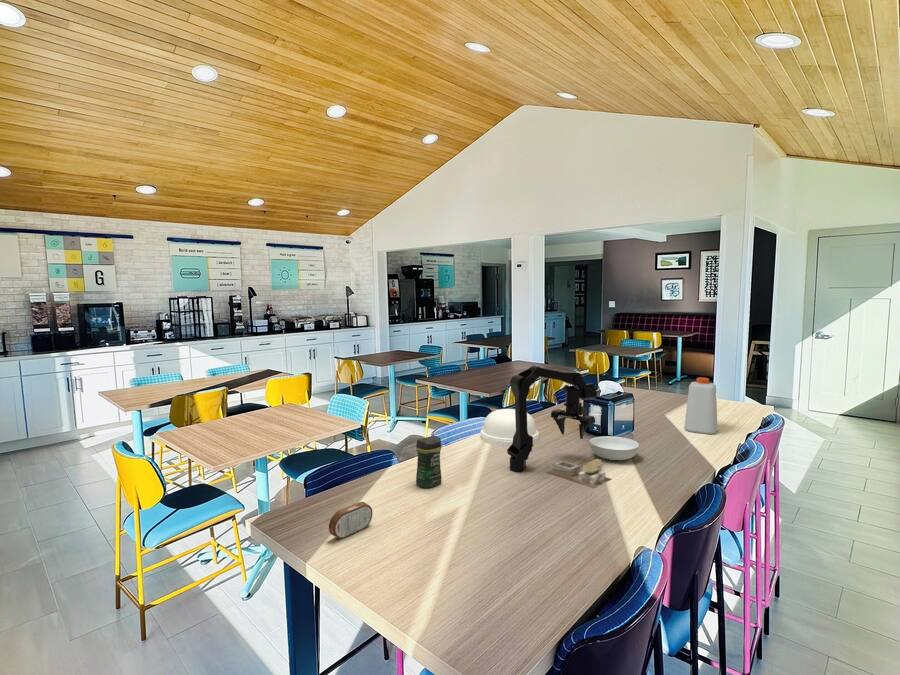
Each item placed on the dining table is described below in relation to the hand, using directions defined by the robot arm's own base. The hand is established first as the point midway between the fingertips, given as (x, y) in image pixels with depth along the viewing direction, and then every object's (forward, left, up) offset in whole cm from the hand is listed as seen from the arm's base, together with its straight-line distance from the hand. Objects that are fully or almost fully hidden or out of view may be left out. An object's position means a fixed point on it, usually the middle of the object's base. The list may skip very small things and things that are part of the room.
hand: (572, 436), depth 208 cm
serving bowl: (+21, -8, -12) cm, 26 cm away
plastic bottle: (+94, -18, -12) cm, 97 cm away
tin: (-101, +12, -12) cm, 102 cm away
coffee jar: (-59, +25, -12) cm, 65 cm away
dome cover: (+10, +44, -12) cm, 46 cm away
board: (-12, -11, -12) cm, 20 cm away
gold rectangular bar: (-12, -17, -11) cm, 24 cm away
